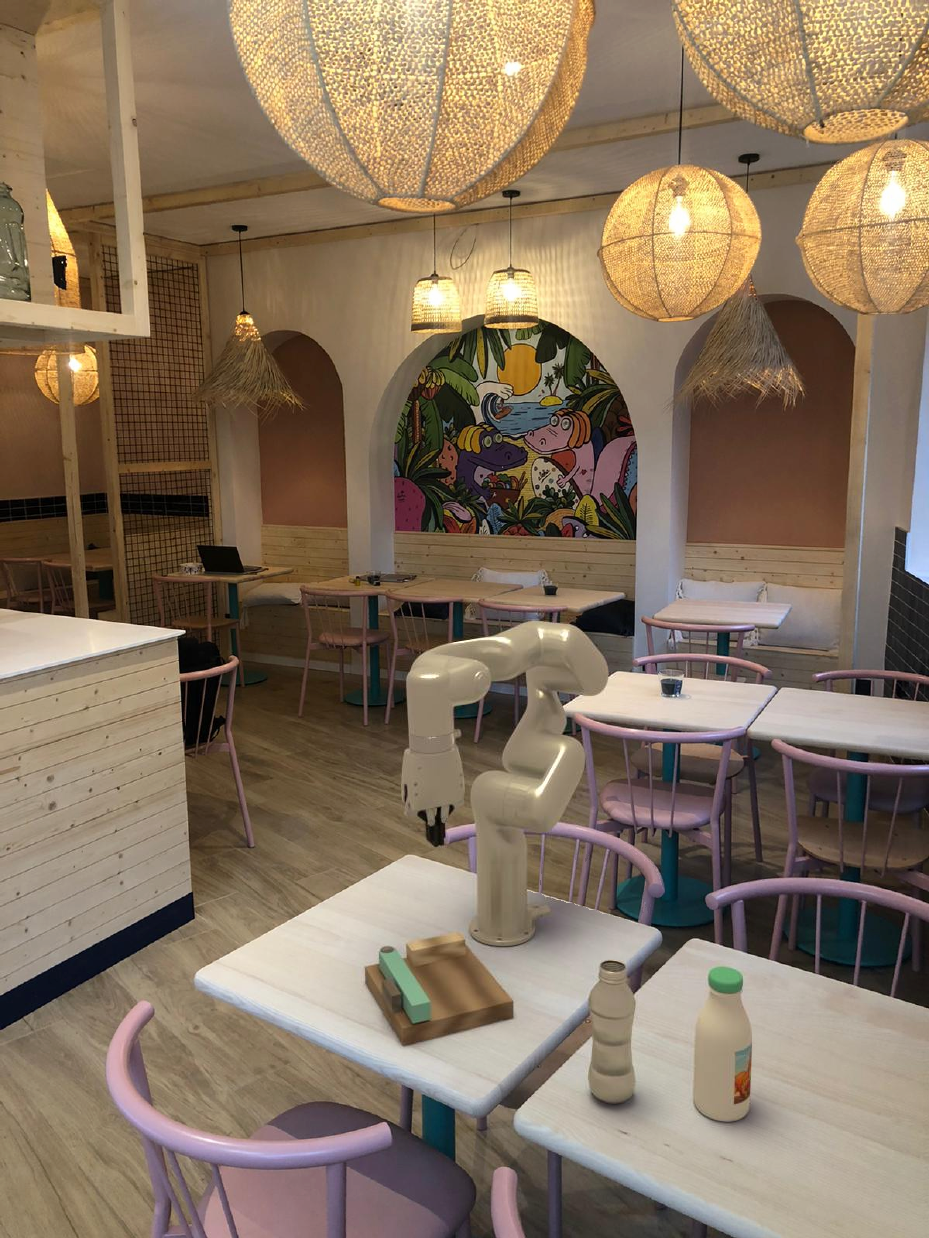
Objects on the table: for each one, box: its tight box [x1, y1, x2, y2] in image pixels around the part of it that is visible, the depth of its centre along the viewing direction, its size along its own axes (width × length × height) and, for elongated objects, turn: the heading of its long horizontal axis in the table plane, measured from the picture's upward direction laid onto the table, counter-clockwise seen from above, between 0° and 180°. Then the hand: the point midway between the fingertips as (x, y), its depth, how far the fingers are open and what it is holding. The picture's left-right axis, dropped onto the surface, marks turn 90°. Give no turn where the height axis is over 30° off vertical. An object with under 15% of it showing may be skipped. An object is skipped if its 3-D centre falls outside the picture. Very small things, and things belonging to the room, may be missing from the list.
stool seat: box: [364, 931, 514, 1047], centre depth 164 cm, size 19×20×6 cm
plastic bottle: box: [587, 959, 637, 1105], centre depth 138 cm, size 6×7×20 cm
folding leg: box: [378, 945, 431, 1023], centre depth 161 cm, size 19×3×3 cm, turn 22°
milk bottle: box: [692, 966, 753, 1123], centre depth 136 cm, size 8×8×20 cm
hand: (436, 843), depth 166 cm, fingers closed
